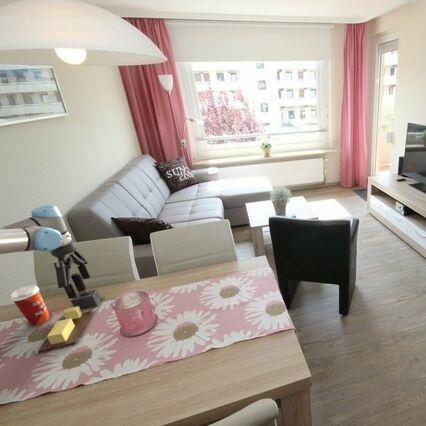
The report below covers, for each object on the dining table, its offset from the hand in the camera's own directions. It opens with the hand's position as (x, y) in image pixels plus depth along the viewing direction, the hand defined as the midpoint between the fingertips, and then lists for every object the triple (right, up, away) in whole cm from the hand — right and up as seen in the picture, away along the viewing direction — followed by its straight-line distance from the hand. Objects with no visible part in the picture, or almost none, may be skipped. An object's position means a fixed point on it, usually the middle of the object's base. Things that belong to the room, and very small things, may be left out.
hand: (80, 287), depth 123 cm
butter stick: (+4, -15, -13) cm, 20 cm away
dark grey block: (0, -8, +4) cm, 9 cm away
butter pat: (+1, -11, -4) cm, 12 cm away
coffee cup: (-14, -13, -4) cm, 19 cm away
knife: (0, -8, +4) cm, 8 cm away
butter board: (+3, -14, -10) cm, 18 cm away
